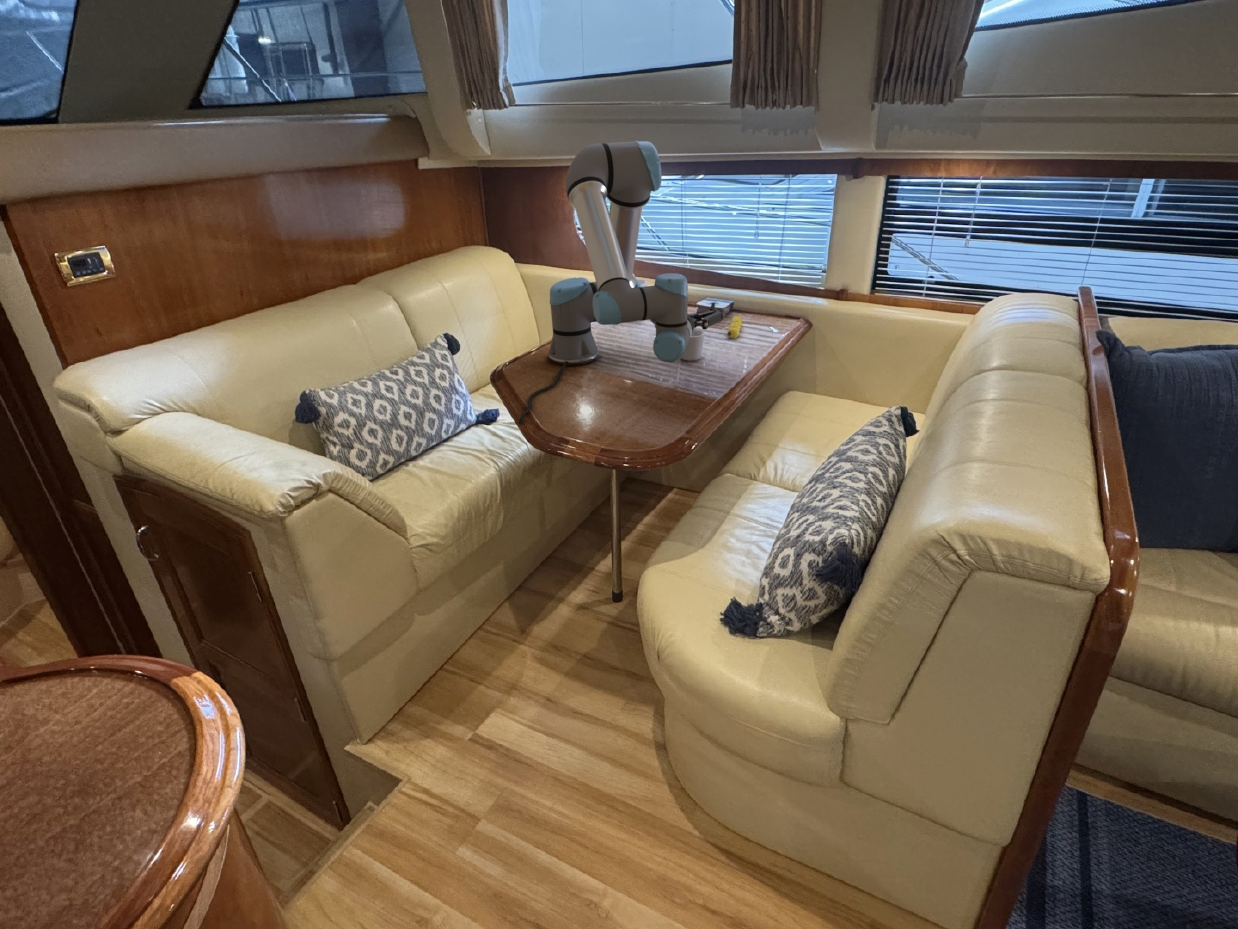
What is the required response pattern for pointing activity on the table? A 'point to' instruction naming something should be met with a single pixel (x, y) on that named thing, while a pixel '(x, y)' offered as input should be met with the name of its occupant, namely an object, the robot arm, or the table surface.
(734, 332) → the yellow bumpy cylinder
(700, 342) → the cup
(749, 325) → the table surface
